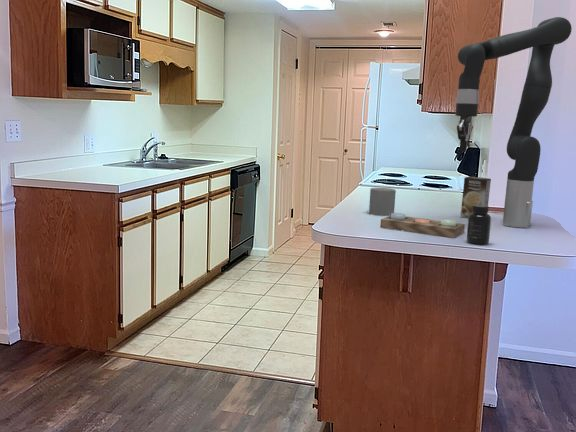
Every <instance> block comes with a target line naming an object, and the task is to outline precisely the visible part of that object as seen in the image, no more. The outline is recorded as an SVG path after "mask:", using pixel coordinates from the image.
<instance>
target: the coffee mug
mask: <svg viewBox="0 0 576 432" xmlns="http://www.w3.org/2000/svg"><path fill="white" fill-rule="evenodd" d="M396 191H397V189H395V188H391V187H380V186H379V187H377V186H375V187H371V188H370V190H369V206H368V214H369V215H372V216H378V217H379V216H380V217H389V216H391V213H395V207H396V206H395V205H396V193H397V192H396Z"/></svg>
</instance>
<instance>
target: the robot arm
mask: <svg viewBox="0 0 576 432" xmlns="http://www.w3.org/2000/svg"><path fill="white" fill-rule="evenodd" d="M572 28H573V27H572V24H571V22H570V20H568V19H567V18H565V17H561V16H557V17H556V16H555V17H552V18H547V19H545V20H542V21H541V22H539V23H538V25H537V26H536V27H533V28H529V29H524V30H521V31H516V32H512V33H511V32H510V33H508V34H503V35H499V36H496V37H492V38H490V39H487V40H485V41H479V42H476V43H471V44H468V45H464V46H463V47H462V48H460V50H459V51H458V54H457V59H458V62H459V63H460V64H461V65H463V66H464V67H463V68H464V69H463V72H462V73H460V75H459V78H458V84H457V85H458V86H457V87H458V88H457V92H456V93H457V95H456V103H455V111H454V113H455V116H456V117H460V118H459V121H458V124H457V125H456V131H457V138H458V140H459V152H461V153H465V152H467V148H468V142H469V140H470V139H471V135H472V132H473V129H474V125H473V121H472V117H473V118H474V117H478V109H479V99H480V91H479V89H480V79H481V78H480V77H481V75H482V72H483V69H484V65H485V61H488V60H494V59H498V58H502V57H506V56H509V55H512V54H515V53H518V52H521V51H523V50H527V49H531V48H532V50H531V55H530V56H531V57H530V60H529V65H528V67H527V68H528V69H527V73H526V76H525V77H526V78H525V81H524V84H523V88H522V92H521V96H520V97H521V98H520V102H519V105H518V110H517V113H516V117H515V121H514V125H513V126H512V129H511V132H510V135H509V138H508V140H507V144H506V153H507V156H508V158H509V159H511V160H513V161H514V167H513V168H512V169H511V170H509V171H508V172H507V177H506V178H507V179H506V188H505V197H504V205H503V206H504V208H503V215H502V216H503V218H502V225H503V226H507V227H511V228H525V229H528V228H529V227H530V226H531V219H532V214H533V213H532V211H533V203H534V201H533V191H534V184H535V176H536V175H537V173H538V169H539V164H540V159H541V152H542V151H541V149H542V148H541V144H540V141H539V140H538V139H537V138H536V137H533V136H532V133H533V132H532V131H533V128H534V125H535V123H536V121H537V119H538V118H539V116H540V115H541V113H542V112H543V110H544V109H545V107H546V106H547V104H548V101H549V98H550V95H551V91H552V87H553V76H552V70H551V57H552V54H553V51H554V48H555V46H556V45H559V44H562V43H564V42H566V41H567V40H568V38H570V35H571V34H572Z"/></svg>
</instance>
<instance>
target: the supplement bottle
mask: <svg viewBox="0 0 576 432" xmlns="http://www.w3.org/2000/svg"><path fill="white" fill-rule="evenodd" d="M472 211H473V213H471V214H470V215H469V217H468V218H467V219H468V220H467V231H466V233H467V234H466V242H467V243H468V244H471V245H477V246H483V245H485V246H486V245H488V244H489V242H490V237H491V236H490V235H491V234H490V233H491V223H492V216H491V215H490V214H488V213H489V211H490V210H489V205H488V206H486V205H473V209H472Z"/></svg>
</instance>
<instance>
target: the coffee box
mask: <svg viewBox="0 0 576 432" xmlns="http://www.w3.org/2000/svg"><path fill="white" fill-rule="evenodd" d="M491 182H492V180H491V178H487V177H478V176H477V177H476V176H470V175H469V176H465V177H464V178H463V190H462V199H461V208H460V218H464V219H468V217H469V215H470V214H471V213H473V211H472V209H473V205H486V206H489V202H490V201H489V200H490V190H491V184H492V183H491Z"/></svg>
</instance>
